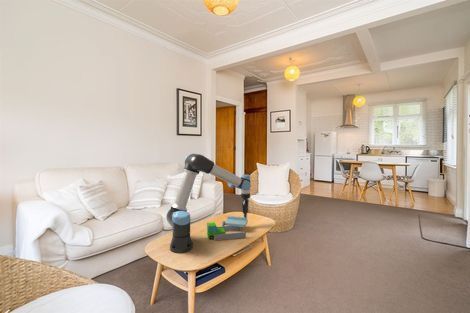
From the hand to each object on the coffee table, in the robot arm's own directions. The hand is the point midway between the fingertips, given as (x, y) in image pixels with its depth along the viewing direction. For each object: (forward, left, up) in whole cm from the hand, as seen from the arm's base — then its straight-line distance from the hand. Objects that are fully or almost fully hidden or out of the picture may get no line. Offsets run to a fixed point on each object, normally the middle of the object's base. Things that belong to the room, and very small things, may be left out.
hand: (245, 220), depth 193 cm
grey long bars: (-18, -14, -5) cm, 23 cm away
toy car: (-27, -16, -6) cm, 32 cm away
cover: (-10, -3, -5) cm, 11 cm away
